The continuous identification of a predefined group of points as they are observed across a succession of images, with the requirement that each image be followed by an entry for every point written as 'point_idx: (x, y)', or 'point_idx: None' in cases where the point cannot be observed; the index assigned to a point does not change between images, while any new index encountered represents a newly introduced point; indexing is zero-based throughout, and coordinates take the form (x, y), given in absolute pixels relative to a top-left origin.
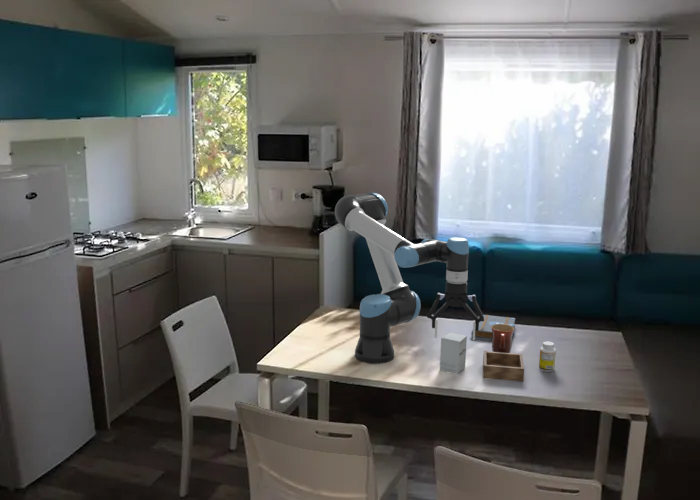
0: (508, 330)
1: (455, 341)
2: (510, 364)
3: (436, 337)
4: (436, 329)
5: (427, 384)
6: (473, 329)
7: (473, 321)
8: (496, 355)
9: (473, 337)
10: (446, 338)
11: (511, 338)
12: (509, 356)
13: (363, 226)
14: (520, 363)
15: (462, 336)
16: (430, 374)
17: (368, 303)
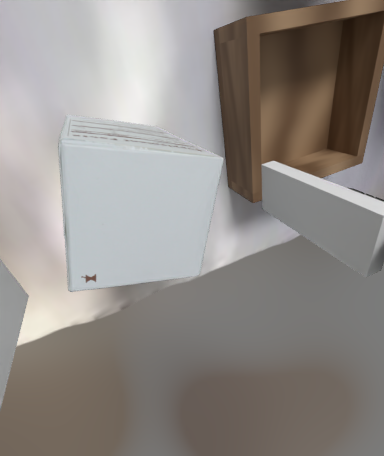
0: None
1: (174, 276)
2: (317, 26)
3: (26, 299)
4: (8, 357)
5: (90, 310)
6: (318, 244)
7: (376, 240)
8: (294, 27)
9: (277, 214)
10: (110, 284)
11: None
12: (342, 18)
13: None
14: (362, 106)
15: (199, 190)
16: (59, 250)
17: None
